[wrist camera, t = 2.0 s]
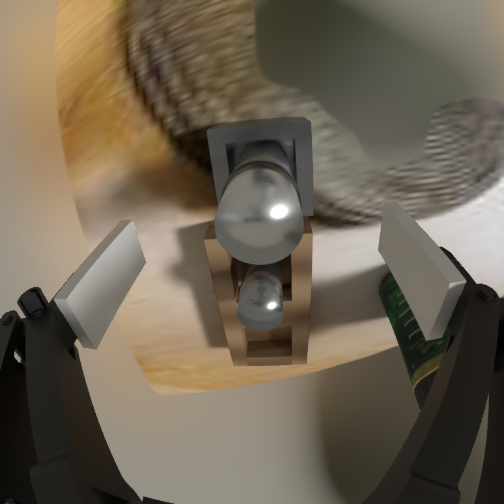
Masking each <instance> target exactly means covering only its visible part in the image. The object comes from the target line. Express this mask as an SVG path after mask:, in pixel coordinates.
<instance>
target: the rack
mask: <svg viewBox="0 0 504 504" xmlns="http://www.w3.org/2000/svg"><path fill="white" fill-rule="evenodd" d="M303 220H304V231H303V235H302V238H301V241H300V243H299V244H298V246H297V247H296V249H295V250H294V251H293V252H292V253H291V254H289V255H288V256H287V257H285V258H284V259H282V260H281V274H282V295H283V319H282V321H281V323H280V324H279V325H278V326H276V327H275V328H273V329H270V330H266V331H256V330H251V329H249V328H247V327H245V326H243V325H242V324H241V323H240V322H239V320H238V318H237V309H238V302H239V295H240V288H241V280H242V273H243V266H244V262H242V261H240V260H238V259H236V258H234V257H232V256H231V255H230V254H228V253H227V252H226V251H225V250H224V249H223V247H222V246H221V245H220V243H219V241H218V239H217V237H216V234H215V229H214V221H211V223H210V226H209V228H208V230H207V233H206V235H205V238H204V243H205V248H206V253H207V257H208V262H209V267H210V271H211V276H212V280H213V284H214V289H215V293H216V297H217V302H218V306H219V310H220V314H221V318H222V322H223V326H224V330H225V334H226V338H227V342H228V346H229V350H230V354H231V357H232V361H233V365H234V366H274V365H296V364H307V352H308V338H309V323H310V305H311V281H312V240H313V233H312V229H311V226H310V222H309V219H308V216H303Z"/></svg>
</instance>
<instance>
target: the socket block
mask: <svg viewBox="0 0 504 504" xmlns="http://www.w3.org/2000/svg"><path fill="white" fill-rule="evenodd" d="M207 136H208V143H209V150H210V157H211V164H212V170H213V177H214V183H215V190H216V196H217V202H218V206H219V204H220V198H221V193H222V190H223V188H224V185H225V183H226V181H227V179H228V178H229V176H230V175H231V174H232V172H233V171H234V169H235V166H236V164H237V162H238V160H239V157H240V155H241V153H242V151H243V150H244V148H245V147H246V146H247V145H248V144H250V143H252V142H254V141H258V140H270V141H273V142H275V143H277V144H278V145H280V146H281V147H282V148H283V150H284V151H285V153H286V155H287V159H288V162H289V166H290V170H291V173H292V176H293V178H294V180H295V181H296V184H297V186H298V190H299V193H300V197H301V212H302V216H313V160H312V135H311V121H309V120H307V119H306V118H304V117H291V118H272V119H258V120H247V121H237V122H228V123H220V124H216V125H214V126H212V127H211V128H209V129H207Z"/></svg>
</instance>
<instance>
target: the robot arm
mask: <svg viewBox="0 0 504 504" xmlns="http://www.w3.org/2000/svg"><path fill="white" fill-rule="evenodd" d="M378 250H379V252H380V254H381V255H382V257H383V259H384V260H385V262H386V264H387V266H388V267H389V269H390V271H391V273H392V274H393V276H394V278H395V280H396V282H397V283H398V285H399V287H400V289H401V291H402V293H403V294H404V296H405V298H406V300H407V302H408V304H409V306H410V308H411V310H412V312H413V314H414V316H415V318H416V320H417V322H418V324H419V326H420V328H421V330H422V332H423V334H424V337H425V339H426V341H428V340H432V339H437V338H442V336H443V334H444V332H445V330H446V328H447V326H448V328H449V330H450V332H451V335H450V337H449V339H448V340H447V342H446V344H445V346H444V348H443V350H442V351H441V352H442V353H443V356H442V359H441V362H440V365H439V368H438V371H437V373H436V376H435V378H434V381H433V384H432V386H431V388H430V391H429V393H428V396H427V398H426V400H425V402H424V405H423V407H422V409H421V412H420V413H419V415H418V418H417V420H416V422H415V424H414V426H413V427H412V429H411V432H410V433H409V435H408V437H407V439H406V441H405V442H404V444H403V446H402V448H401V450H400V451H399V453H398V455H397V457H396V458H395V460H394V462H393V463H392V465H391V466H390V468H389V469H388V471H387V472H386V474H385V475H384V477H383V478H382V480H381V481H380V483H379V485H378V486H377V487H376V488H375V490H374V491H373V492H372V493H371V494H370V495H369V496H368V497H367V498H366V499H365V500H364V501H363V502H362V504H458V503H459V501H460V495H461V493H460V491H459V489H458V483H459V480H460V478H461V475H462V473H463V471H464V469H465V466H466V464H467V461H468V459H469V456H470V454H471V451H472V448H473V446H474V443H475V440H476V437H477V433H478V431H479V427H480V424H481V421H482V417H483V413H484V410H485V406H486V402H487V398H488V394H489V413H488V428H487V440H486V448H485V455H484V462H483V468H482V473H481V478H480V483H479V487H478V492H477V496H476V500H475V503H474V504H504V298H499V296H498V294H497V293H496V291H494V290H493V289H492V288H491V287H489V286H487V285H484V284H476V282H475V281H474V280H473V279H472V277H471V276H470V275H469V274H468V272H467V271H466V270H465V269H464V267H462V265H461V264H460V263H459V261H457V259H456V258H455V257H454V256H453V255H452V253H451V252H449V251H448V250H446V249H445V248H443V247H438V245H437V244H436V243H435V242H434V241H433V240H432V239H431V238H430V236H429V235H428V234H427V233H426V232H425V231H424V230H423V229H422V228H421V227H420V226H419V225H418V224H417V222H416V221H415V220H414V219H413V218H412V217H411V216H410V215H409V214H408V213H407V212H406V211H405V210H404V209H403V208H402V207H401V206H400V205H399V204H398V203H384V206H383V215H382V224H381V232H380V240H379V247H378ZM145 263H146V261H145V258H144V255H143V252H142V249H141V246H140V243H139V239H138V236H137V233H136V230H135V226H134V223H133V220H126V221H121V222H120V223H119V224H118V225H117V226H116V227H115V228H114V229H113V230H112V231H111V232H110V233H109V234H108V235H107V236H106V237H105V239H104V240H103V241H102V242H101V243H100V244H99V245H98V246H97V247H96V248H95V249H94V251H93V252H92V253H91V254H90V255H89V256H88V257H87V258H86V260H85V261H84V262H83V263H82V264H81V265H80V267H79V268H78V269H77V270H76V271H75V272H74V273H73V274H72V275H71V276H70V278H69V279H68V280H67V282H65V284H64V285H63V287H61V289H60V290H59V291H58V292H57V294H56V295H55V296H54V298H53V299H52V300H51V301H50V303H48V301H47V299H46V298H45V296H44V294H43V292H42V290H41V289H40V288H39V287H33V288H31V289H29V290H27V291H26V292H25V293H23V294H22V295H21V296H20V298H19V299H18V302H17V303H18V305H19V307H20V308H21V310H22V311H23V313H24V315H25V316H26V318H22V319H21V318H20V316H19V315H18V313H17V312H16V311H15V310H13V311H9V312H6V313H5V314H4V315H3V316H2V318H1V319H0V504H173V503H168V502H164V501H159V500H155V499H151V498H147V497H143V501H141V499H140V498H139V496H138V495H137V494H136V492H135V491H134V490H133V489H132V488H131V487H130V486H129V485H128V484H127V483H126V481H125V480H124V479H123V477H122V475H121V473H120V471H119V469H118V467H117V465H116V463H115V461H114V458H113V456H112V454H111V452H110V449H109V447H108V445H107V442H106V440H105V438H104V435H103V432H102V430H101V427H100V424H99V422H98V419H97V416H96V413H95V410H94V407H93V404H92V401H91V398H90V395H89V391H88V388H87V385H86V381H85V377H84V374H83V370H82V366H81V362H80V358H79V353H78V349H77V347H76V346H75V345H74V343H75V341H76V339H77V338H78V340H79V341H80V343H81V344H82V346H83V347H84V348H90V349H97V347H98V345H99V344H100V342H101V340H102V338H103V336H104V334H105V332H106V330H107V328H108V327H109V325H110V323H111V321H112V319H113V318H114V316H115V314H116V312H117V310H118V309H119V307H120V305H121V303H122V302H123V300H124V298H125V296H126V295H127V293H128V291H129V290H130V288H131V286H132V285H133V283H134V281H135V280H136V278H137V276H138V275H139V273H140V271H141V270H142V268H143V267H144V265H145ZM14 352H16V353H17V354H18V356H19V357H20V358H21V362H20V363H19V362H18V361H17V360H16V359H15V357H14Z"/></svg>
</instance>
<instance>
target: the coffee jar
mask: <svg viewBox="0 0 504 504" xmlns="http://www.w3.org/2000/svg"><path fill="white" fill-rule="evenodd" d="M379 295H380V298H381V300H382V303H383V305H384V308H385V310H386V313H387V315H388V318H389V320H390V323H391V325H392V328H393V330H394V333H395V336H396V339H397V341H398V344H399V347H400V350H401V353H402V355H403V358H404V361H405V364H406V367H407V370H408V373H409V377H410V380H411V384H412V387H413V391H414V393H415V396H416V399H417V402H418V405H419V408H420V410H421V409H422V407H423V405H424V402H425V400H426V398H427V396H428V393H429V391H430V388H431V386H432V384H433V381H434V378H435V376H436V373H437V371H438V368H439V365H440V362H441V359H442V356H443V353H442V352H441V351H442V350H443V348H444V346H445V344H446V342H447V340H448V339H449V337H450V335H451V332H450V330H449V328H448V326H447V328H446V330H445V332H444V334H443V336H442V338H437V339H432V340H428V341H426V339H425V337H424V334H423V332H422V330H421V328H420V326H419V324H418V322H417V320H416V318H415V316H414V314H413V312H412V310H411V308H410V306H409V304H408V302H407V300H406V298H405V296H404V294H403V293H402V291H401V289H400V287H399V285H398V283H397V282H396V280H395V278H394V276H393V274H392V273H390V274H389V275H388V276H387V277H386V278H385V279H384V281H383V282H382V284H381V286H380V289H379Z"/></svg>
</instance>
